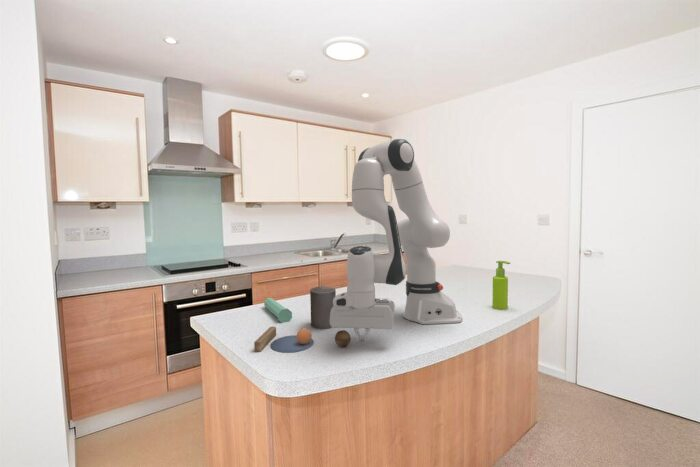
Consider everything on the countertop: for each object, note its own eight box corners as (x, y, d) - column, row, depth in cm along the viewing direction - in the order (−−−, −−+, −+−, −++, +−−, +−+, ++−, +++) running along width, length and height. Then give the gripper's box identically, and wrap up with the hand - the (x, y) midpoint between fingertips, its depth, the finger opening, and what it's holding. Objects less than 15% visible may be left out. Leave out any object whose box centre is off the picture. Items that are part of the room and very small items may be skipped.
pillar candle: (306, 324, 135) (305, 285, 133) (327, 318, 140) (326, 281, 139) (319, 331, 127) (318, 290, 125) (341, 325, 133) (340, 286, 131)
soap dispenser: (506, 311, 145) (506, 262, 143) (489, 307, 150) (490, 261, 148) (512, 308, 149) (513, 261, 147) (496, 304, 154) (497, 259, 152)
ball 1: (298, 326, 118) (299, 341, 118) (293, 331, 113) (294, 347, 113) (312, 326, 117) (314, 341, 117) (308, 331, 112) (309, 346, 112)
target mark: (318, 336, 122) (318, 335, 122) (307, 353, 108) (307, 352, 108) (279, 335, 123) (278, 334, 123) (263, 351, 110) (263, 351, 110)
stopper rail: (276, 335, 124) (275, 326, 123) (260, 351, 110) (260, 342, 110) (270, 335, 124) (270, 326, 124) (254, 351, 110) (254, 342, 110)
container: (264, 294, 158) (280, 306, 136) (276, 297, 161) (294, 310, 139) (260, 307, 158) (275, 321, 136) (272, 310, 160) (289, 325, 138)
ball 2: (334, 329, 115) (338, 344, 116) (332, 335, 110) (336, 350, 111) (349, 326, 115) (352, 341, 115) (347, 332, 110) (351, 347, 110)
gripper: (394, 296, 113) (395, 338, 114) (331, 295, 116) (332, 336, 117) (394, 301, 107) (394, 346, 108) (327, 300, 109) (329, 343, 111)
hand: (362, 341), depth 112 cm, fingers closed
